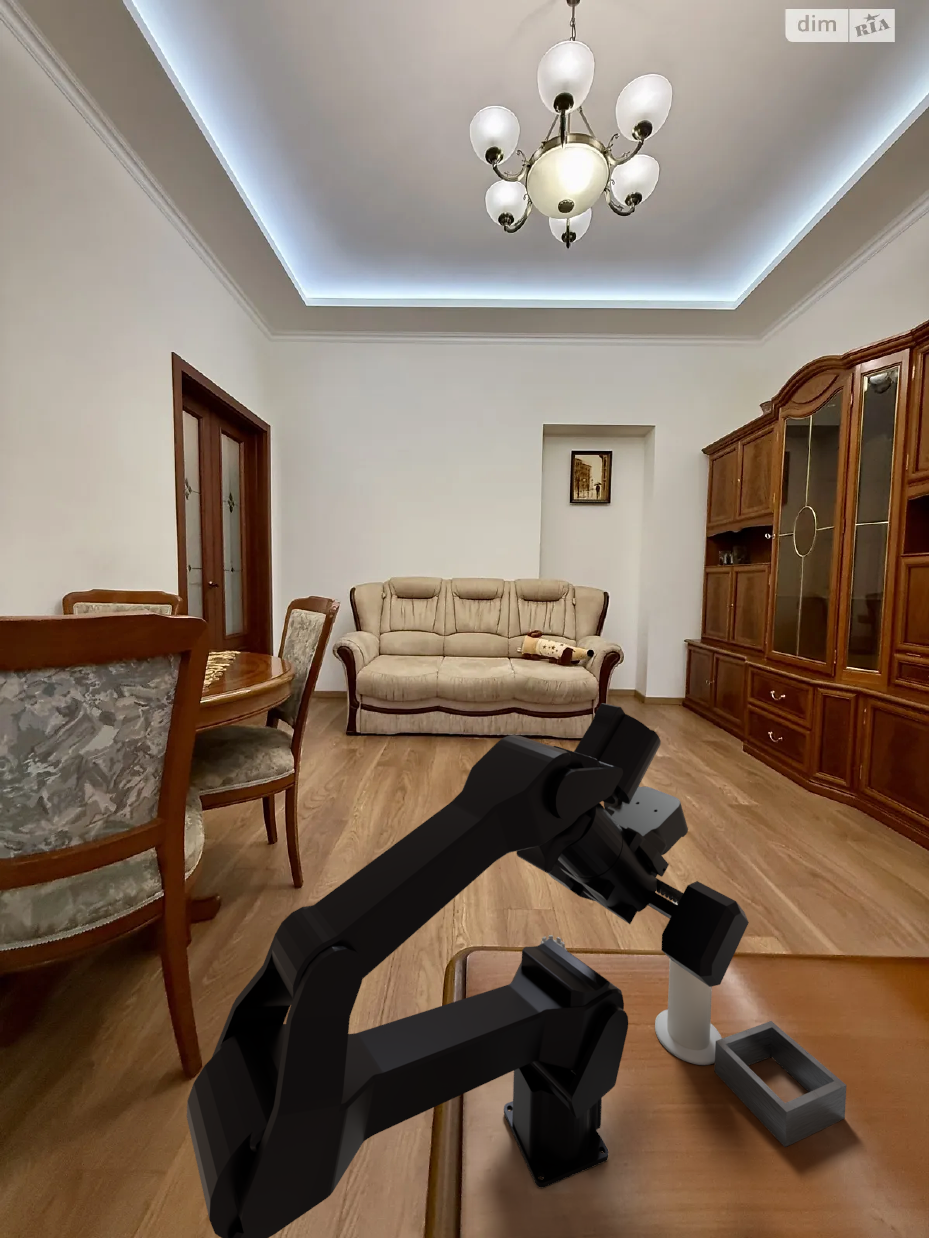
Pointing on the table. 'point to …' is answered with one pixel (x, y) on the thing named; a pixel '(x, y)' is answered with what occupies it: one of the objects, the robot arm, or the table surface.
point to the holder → (777, 1116)
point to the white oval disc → (681, 1052)
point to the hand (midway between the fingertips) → (669, 929)
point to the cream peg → (688, 1009)
